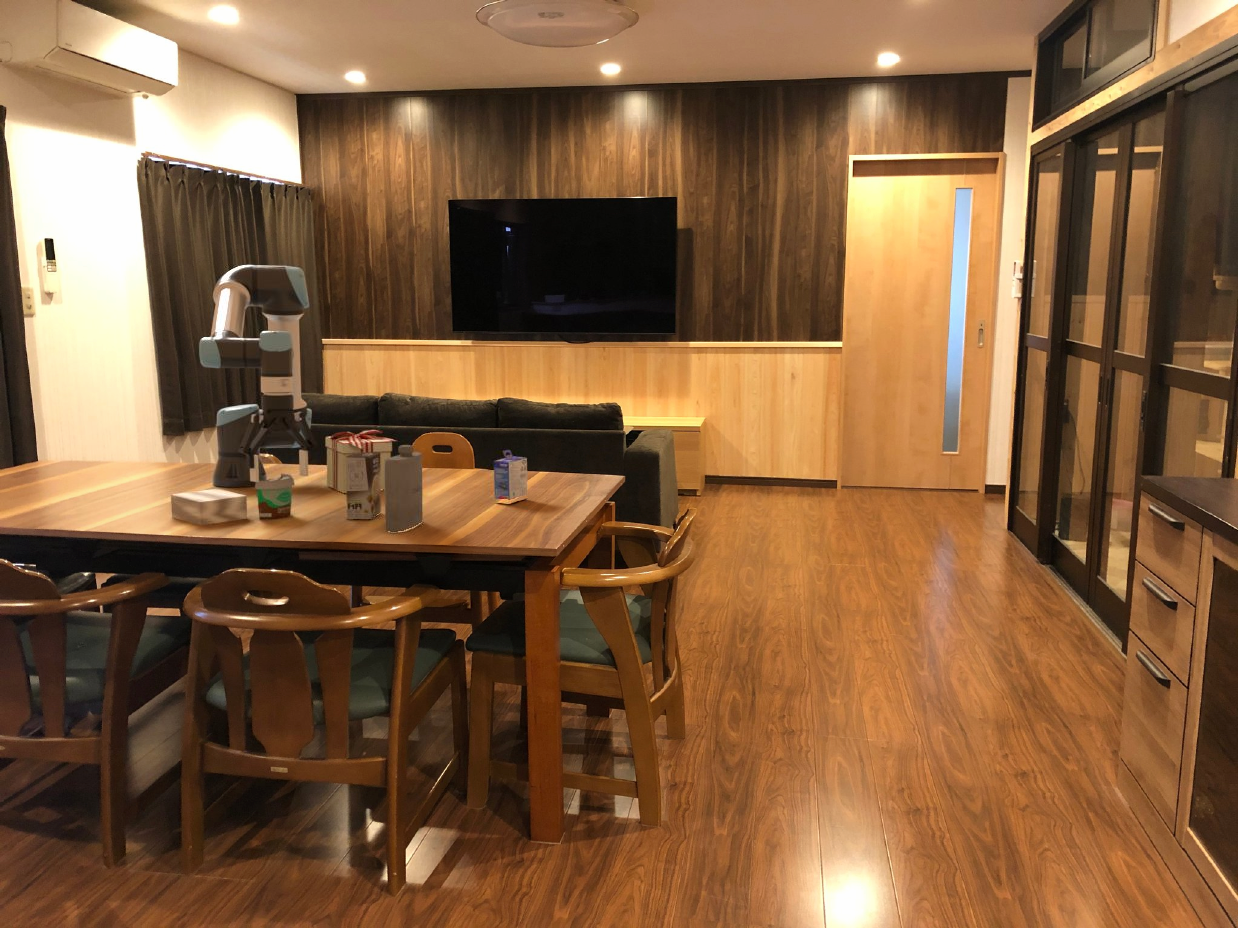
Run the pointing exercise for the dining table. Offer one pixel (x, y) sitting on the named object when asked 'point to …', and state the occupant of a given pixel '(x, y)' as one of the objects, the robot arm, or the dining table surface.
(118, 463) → the dining table surface
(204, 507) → the birch block
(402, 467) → the flask
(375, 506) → the coffee box
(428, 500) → the dining table surface
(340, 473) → the gift box
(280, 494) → the food container
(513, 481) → the ink cartridge box
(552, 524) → the dining table surface
